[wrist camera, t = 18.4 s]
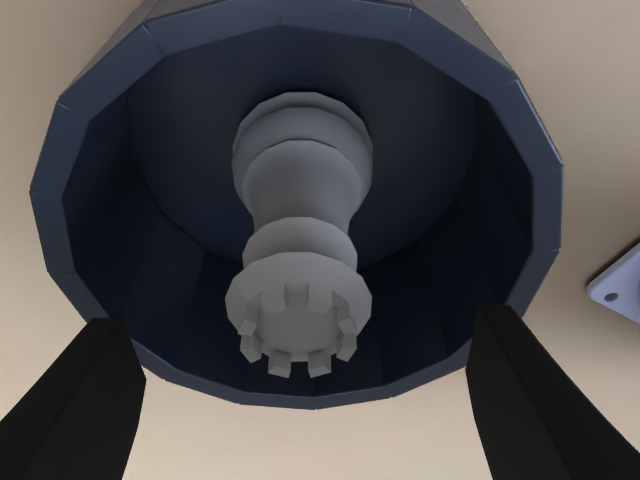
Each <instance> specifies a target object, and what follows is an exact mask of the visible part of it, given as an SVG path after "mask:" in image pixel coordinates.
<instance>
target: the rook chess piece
mask: <svg viewBox="0 0 640 480" xmlns="http://www.w3.org/2000/svg"><path fill="white" fill-rule="evenodd" d="M232 148H233V158H232V161H231V163H232V171H233V179H234V186H235V189H236V192H237V194H238V195H239V197H240V198H241V200H242V202H243V203H244V205H245V206H246V208H247V210H248V211H249V212H250V213H251V215H252V217H253V221H254V235H252V236H251V237H250V238H249V240H248V242H247V245H246V247H245V249H244V252H243V254H242V258H243V266H244V270H243V271H241V272H240V273H239V274H238V275H237V276H235V277H234V278H233V280H232V282H231V285H230V287H229V290H228V292H227V294H226V297H225V302H226V308H227V315H228V319H229V320H230V321H231V323H232V324H233V325H234V327H235V328H236V329H237V331H238V334H240V335H241V336H242V337H241V345H240V351H241V352H242V353H243V354H244V356H245V357H246V358H247V359H248V361H249V362H250V363H252V362H255V361H257V360H259V359H261V355H262V353H264V354H265V355H267V356H269V364H268V373H269V374H273V375H278V376H282V377H286V378H289V375H290V371H291V362H302V361H308V371H309V374H310V377H311V378H312V377H316V376H320V375H323V374H327V373H331V355H333V354H334V353H336V358H339V359H341V360H344V361H346V362H348V361H349V359H350V358H351V356H352V355H353V353H354V352H355V350H356V349H357V343H356V336H357V335H358V334H359V333H360V332H361V330H362V329H363V327H364V326H365V324H366V323H367V321H368V320H369V318H370V317H371V304H372V295H371V293H370V291H369V289H368V288H367V286H366V284H365V282H364V280H363V278H362V276H360V275H359V274H358V273H356V271H357V252H356V250H355V248H354V246H353V244H352V242H351V240H350V238H349V237H348V236H347V235H348V228H349V220H350V219H351V218H352V216H353V214H354V213H355V212H356V211H357V210H358V209H359V207H360V206H361V204H362V202H363V200H364V198H365V197H366V195H367V193H368V191H369V189H370V186H371V182H372V167H373V159H372V149H373V145H372V142H371V140H370V137H369V135H368V132H367V130H366V127H365V125H364V122H363V121H362V120H361V119H360V118H359V117H358V116H357V115H356V114H355V113H354V112H353V111H352V110H350V109H349V108H348V107H347V106H346V105H345V104H344V103H343V102H340V101H338V100H335V99H332V98H330V97H327V96H324V95H322V94H319V93H317V92H288V93H284V94H281V95H279V96H276V97H274V98H272V99H269V100H267V101H264V102H262V103H259V104H258V105H257V106H256V107H255V108H254V109H253V110H252V112H251V113H250V114H249V115H248V116H247V117H246V118H245V119H244V120H243V121H242V122H241V123H240V126H239V129H238V131H237V134H236V137H235V140H234V143H233V146H232Z"/></svg>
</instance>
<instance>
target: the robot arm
mask: <svg viewBox="0 0 640 480" xmlns="http://www.w3.org/2000/svg"><path fill="white" fill-rule="evenodd" d="M586 290H587V293H588V295H589V297H590V298H591V299H592V300H594V301H596V302H598V303H600V304H602V305H604V306H606V307H608V308H610V309H612V310H613V311H615V312H617V313H619V314H621V315H623V316H625V317H627V318H629V319H631V320H633V321H635V322H637V323H639V324H640V243H639V244H637V245H636V246H635V247H634V248H632V249H631V250H630V251H629V252H627V253H626V254H625V255H624V256H622V257H621V258H620V259H619V260H617V261H616V262H615V263H614V264H612V265H611V266H610V267H609V268H608V269H606V270H605V271H604V272H603V273H601V274H600V275H599V276H598V277H596V278H595V279H594V280H593V281H591V282H590V283H589V285H588V286H587V288H586ZM609 293H610V294H609ZM607 294H608V295H607ZM465 371H466V377H467V383H468V388H469V394H470V399H471V404H472V410H473V415H474V419H475V423H476V426H477V429H478V433H479V436H480V439H481V443H482V446H483V449H484V452H485V456H486V459H487V462H488V465H489V469H490V472H491V475H492V478H493V480H640V453H639V452H638V451H637V450H636V449H635V448H634V447H633V446H632V445H631V444H630V443H629V442H628V441H627V440H626V439H625V438H624V437H623V436H622V435H621V434H620V433H619V432H618V431H617V430H616V428H615V427H614V426H613V425H612V424H611V423H610V422H609V421H608V420H607V419H606V418H605V417H604V416H603V415H602V414H601V413H600V412H599V411H598V409H597V408H596V407H595V406H594V405H593V404H592V403H591V402H590V401H589V400H588V398H587V397H586V396H585V395H584V394H583V393H582V392H581V390H580V389H579V388H578V387H577V386H576V385H575V384H574V382H573V381H572V380H571V379H570V378H569V377H568V376H567V374H566V373H565V372H564V371H563V370H562V369H561V367H560V366H559V365H558V364H557V363H556V361H555V360H554V359H553V358H552V357H551V355H550V354H549V353H548V352H547V350H546V349H545V348H544V347H543V346H542V344H541V343H540V342H539V341H538V339H537V338H536V337H535V336H534V334H533V333H532V332H531V330H530V329H529V328H528V327H527V325H526V324H525V323H524V322H523V320H522V319H521V318H520V316H519V315H518V314H517V312H516V311H515V310H514V309H513V308H512V307H511V306H510V305H495V306H479V308H478V313H477V317H476V322H475V327H474V332H473V336H472V341H471V346H470V351H469V355H468V360H467V365H466V370H465ZM145 385H146V377H145V375H144V372H143V370H142V367H141V364H140V362H139V359H138V357H137V354H136V352H135V349H134V346H133V344H132V341H131V339H130V336H129V334H128V331H127V328H126V326H125V323H124V321H123V318H122V317H109V318H92V319H91V320H90V321H89V322H88V323H87V324H86V326H85V327H84V328H83V329H82V330H81V331H80V332H79V334H78V335H77V336H76V337H75V338H74V339H73V340H72V342H71V343H70V344H69V345H68V346H67V347H66V349H65V350H64V351H63V352H62V353H61V354H60V356H59V357H58V358H57V359H56V360H55V361H54V362H53V364H52V365H51V366H50V367H49V368H48V369H47V370H46V372H45V373H44V374H43V375H42V376H41V377H40V378H39V380H38V381H37V382H36V383H35V384H34V385H33V386H32V387H31V388H30V390H29V391H28V392H27V393H26V394H25V395H24V396H23V397H22V398H21V400H20V401H19V402H18V403H17V404H16V405H15V406H14V407H13V408H12V409H11V411H10V412H9V413H8V414H7V415H6V416H5V417H4V418H3V419H2V420H1V421H0V480H122V477H123V474H124V471H125V468H126V465H127V461H128V458H129V455H130V452H131V448H132V445H133V442H134V438H135V435H136V432H137V428H138V424H139V419H140V413H141V408H142V403H143V397H144V391H145Z"/></svg>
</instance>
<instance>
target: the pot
mask: <svg viewBox="0 0 640 480" xmlns="http://www.w3.org/2000/svg"><path fill="white" fill-rule="evenodd" d="M288 92H317V93H319V94H322V95H324V96H327V97H330V98H332V99H335V100H338V101H340V102H343V103H344V104H345V105H346V106H347V107H348V108H349V109H350V110H352V111H353V112H354V113H355V114H356V115H357V116H358V117H359V118H360V119H361V120H362V121H363V122H364V125H365V127H366V130H367V132H368V135H369V137H370V140H371V142H372V145H373V149H372V159H373V167H372V182H371V186H370V189H369V191H368V193H367V195H366V197H365V198H364V200H363V202H362V204H361V206H360V207H359V209H358V210H357V211H356V212H355V213H354V214H353V216H352V218H351V219H350V220H349V228H348V235H347V236H348V237H349V238H350V240H351V242H352V244H353V246H354V248H355V250H356V252H357V271H356V273H358V274H359V275H360V276H362V278H363V280H364V282H365V284H366V286H367V288H368V289H369V291H370V293H371V295H372V304H371V317H370V318H369V320H368V321H367V323H366V324H365V326H364V327H363V329H362V330H361V332H360V333H359V334H358V335H357V336H356V343H357V349H356V350H355V352H354V353H353V355H352V356H351V358H350V359H349V361H348V362H346V361H344V360H341V359H339V358H336V353H334V354H333V355H331V373H327V374H323V375H320V376H316V377H312V378H311V377H310V374H309V371H308V361H302V362H291V371H290V375H289V378H286V377H282V376H278V375H273V374H269V373H268V364H269V356H267V355H265V354H264V353H262V355H261V359H259V360H257V361H255V362H252V363H250V362H249V361H248V359H247V358H246V357H245V356H244V354H243V353H242V352H241V351H240V345H241V337H242V336H241V335H240V334H238V331H237V329H236V328H235V327H234V325H233V324H232V323H231V321H230V320H229V319H228V315H227V308H226V302H225V297H226V294H227V292H228V290H229V287H230V285H231V282H232V280H233V278H234V277H235V276H237V275H238V274H239V273H240V272H241V271H243V270H244V266H243V258H242V254H243V252H244V249H245V247H246V245H247V242H248V240H249V238H250V237H251V236H252V235H254V221H253V217H252V215H251V213H250V212H249V211H248V210H247V208H246V206H245V205H244V203H243V202H242V200H241V198H240V197H239V195H238V194H237V192H236V189H235V186H234V179H233V171H232V163H231V161H232V158H233V148H232V146H233V143H234V140H235V137H236V134H237V131H238V129H239V126H240V123H241V122H242V121H243V120H244V119H245V118H246V117H247V116H248V115H249V114H250V113H251V112H252V110H253V109H254V108H255V107H256V106H257V105H258V104H259V103H262V102H264V101H267V100H269V99H272V98H274V97H276V96H279V95H281V94H284V93H288ZM563 172H564V166H563V164H562V158H561V156H560V154H559V152H558V151H557V149H556V147H555V145H554V143H553V141H552V139H551V137H550V135H549V133H548V132H547V130H546V128H545V126H544V124H543V122H542V120H541V118H540V116H539V115H538V113H537V111H536V109H535V107H534V105H533V103H532V101H531V99H530V97H529V96H528V94H527V92H526V90H525V88H524V86H523V84H522V82H521V80H520V79H519V77H518V75H517V74H516V73H515V72H514V70H513V69H512V68H511V66H510V65H509V64H508V62H507V61H506V60H505V58H504V57H503V56H502V54H501V53H500V52H499V51H498V49H497V48H496V47H495V45H494V44H493V43H492V41H491V40H490V39H489V37H488V36H487V35H486V33H485V32H484V31H483V30H482V28H481V27H480V26H479V24H478V23H477V22H476V20H475V19H474V18H473V16H472V15H471V14H470V12H469V11H468V10H467V9H466V7H465V6H464V5H463V3H462V2H461V1H460V0H145V1H144V2H143V3H142V4H141V5H140V6H139V7H138V8H137V9H136V10H135V11H134V12H132V13H131V14H130V16H129V17H128V18H127V19H126V20H125V21H124V23H123V24H122V25H121V26H120V27H119V28H118V29H117V31H116V32H115V33H114V34H113V35H112V36H111V37H110V39H109V40H108V41H107V42H106V43H105V44H104V45H103V47H102V48H101V49H100V50H99V51H98V52H97V53H96V55H95V56H94V57H93V58H92V59H91V60H90V62H89V63H88V64H87V65H86V66H85V67H84V68H83V70H82V71H81V72H80V73H79V74H78V75H77V76H76V78H75V79H74V80H73V81H72V82H71V83H70V84H69V86H68V87H67V88H66V89H65V90H64V91H63V92H62V94H61V95H60V96H59V98H58V100H57V101H56V104H55V107H54V110H53V114H52V117H51V120H50V123H49V126H48V130H47V133H46V136H45V139H44V143H43V146H42V149H41V152H40V155H39V159H38V162H37V165H36V168H35V172H34V175H33V178H32V181H31V185H30V191H29V194H30V199H31V203H32V207H33V212H34V216H35V220H36V225H37V229H38V233H39V238H40V242H41V247H42V251H43V255H44V260H45V264H46V268H47V272H49V275H50V276H51V278H52V279H53V280H54V281H55V283H56V284H57V285H58V287H59V288H60V289H61V290H62V292H63V293H64V294H65V296H66V297H67V298H68V300H69V301H70V302H71V303H72V305H73V306H74V307H75V309H76V310H77V311H78V312H79V314H80V315H81V316H82V318H83V319H84V320H85V322H86V323H88V322H89V321H90V320H91V319H92V318H109V317H122V318H123V321H124V323H125V326H126V328H127V331H128V334H129V336H130V339H131V341H132V344H133V346H134V349H135V352H136V354H137V357H138V359H139V362H140V364H141V366H143V367H145V368H146V369H148V370H149V371H151V372H152V373H154V374H155V375H157V376H158V377H160V378H161V379H165V381H168V382H171V383H174V384H177V385H180V386H183V387H186V388H190V389H193V390H196V391H199V392H202V393H205V394H208V395H211V396H214V397H218V398H221V399H224V400H227V401H230V402H233V403H239V404H240V405H254V406H267V407H280V408H293V409H307V410H315V409H324V408H331V407H337V406H344V405H350V404H356V403H363V402H369V401H376V400H382V399H388V398H391V397H396V396H398V395H401V394H403V393H405V392H408V391H410V390H412V389H415V388H417V387H419V386H422V385H424V384H426V383H429V382H431V381H433V380H436V379H438V378H440V377H443V376H445V375H448V374H450V373H452V372H455V371H457V370H459V369H461V368H464V367H465V366H466V365H467V360H468V355H469V351H470V346H471V341H472V336H473V332H474V327H475V322H476V317H477V313H478V308H479V306H495V305H510V306H511V307H512V308H513V309H514V310H515V311H516V312H517V314H518V315H519V316H520V318H521V319H522V317H523V316H524V314H525V313H526V311H527V309H528V307H529V305H530V304H531V302H532V300H533V298H534V296H535V295H536V293H537V291H538V289H539V287H540V286H541V284H542V282H543V280H544V278H545V277H546V275H547V273H548V271H549V269H550V268H551V266H552V264H553V262H554V260H555V259H556V257H557V255H558V253H559V248H560V247H561V223H562V197H563Z"/></svg>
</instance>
